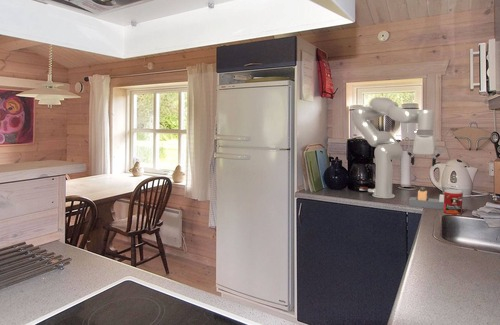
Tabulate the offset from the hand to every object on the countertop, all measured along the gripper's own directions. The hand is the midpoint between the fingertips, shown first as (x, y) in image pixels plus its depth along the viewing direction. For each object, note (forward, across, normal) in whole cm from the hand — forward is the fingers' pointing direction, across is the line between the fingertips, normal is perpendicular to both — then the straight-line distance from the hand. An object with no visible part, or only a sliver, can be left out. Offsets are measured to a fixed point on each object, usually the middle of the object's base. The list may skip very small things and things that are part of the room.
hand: (422, 165), depth 181 cm
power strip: (+21, +5, -3) cm, 22 cm away
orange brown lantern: (+21, +1, -3) cm, 22 cm away
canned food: (+21, +15, -13) cm, 29 cm away
